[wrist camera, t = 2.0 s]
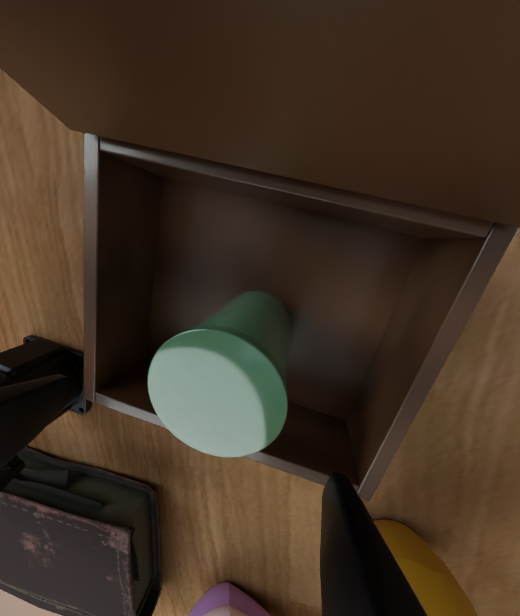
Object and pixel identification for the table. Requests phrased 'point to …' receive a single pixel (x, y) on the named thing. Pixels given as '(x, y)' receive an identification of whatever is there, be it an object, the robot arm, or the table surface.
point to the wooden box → (279, 293)
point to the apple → (425, 572)
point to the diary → (79, 539)
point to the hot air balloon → (226, 603)
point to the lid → (293, 88)
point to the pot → (226, 377)
